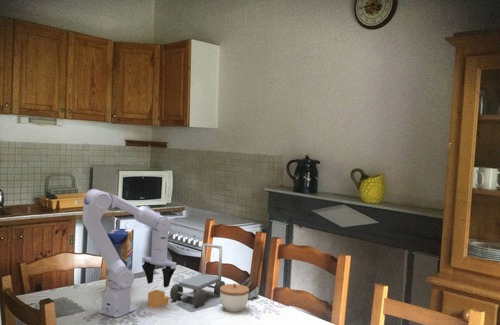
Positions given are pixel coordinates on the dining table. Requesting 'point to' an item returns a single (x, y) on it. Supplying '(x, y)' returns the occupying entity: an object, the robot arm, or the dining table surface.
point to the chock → (157, 298)
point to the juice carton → (122, 247)
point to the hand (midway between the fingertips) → (158, 284)
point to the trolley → (200, 281)
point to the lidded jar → (234, 297)
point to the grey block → (251, 289)
